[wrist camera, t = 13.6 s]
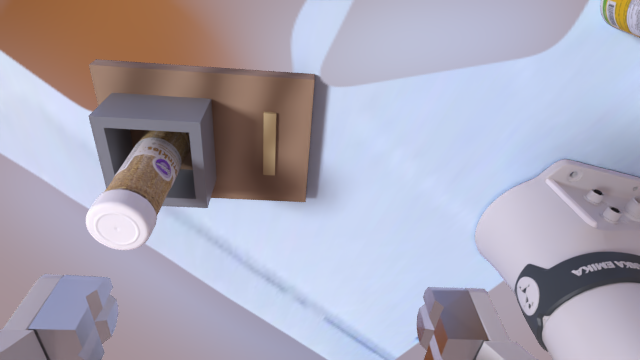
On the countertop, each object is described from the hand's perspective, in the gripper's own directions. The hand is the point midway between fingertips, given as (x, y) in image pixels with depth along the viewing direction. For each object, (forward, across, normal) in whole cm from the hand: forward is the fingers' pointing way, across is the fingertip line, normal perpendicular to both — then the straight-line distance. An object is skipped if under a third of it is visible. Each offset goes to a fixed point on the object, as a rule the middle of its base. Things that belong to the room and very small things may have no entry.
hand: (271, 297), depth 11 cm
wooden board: (+31, +8, +12) cm, 34 cm away
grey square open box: (+30, +12, +12) cm, 34 cm away
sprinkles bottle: (+30, +12, +12) cm, 34 cm away
